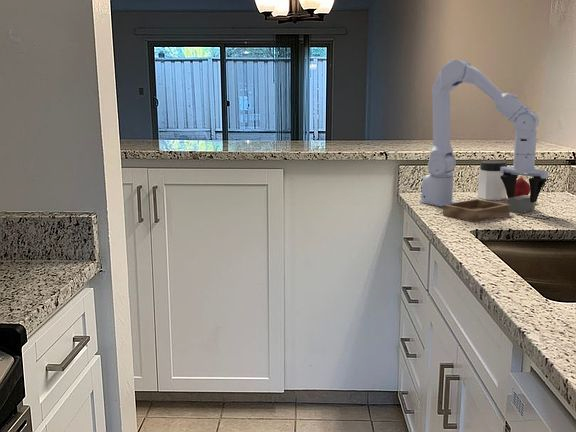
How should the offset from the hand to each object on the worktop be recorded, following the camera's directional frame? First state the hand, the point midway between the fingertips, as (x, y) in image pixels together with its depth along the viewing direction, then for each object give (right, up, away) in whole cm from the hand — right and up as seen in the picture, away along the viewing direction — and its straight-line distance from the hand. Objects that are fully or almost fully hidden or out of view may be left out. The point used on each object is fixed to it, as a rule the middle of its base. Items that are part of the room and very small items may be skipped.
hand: (521, 200), depth 171 cm
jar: (-2, +1, +21) cm, 21 cm away
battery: (0, -3, +1) cm, 3 cm away
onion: (+5, 0, +14) cm, 15 cm away
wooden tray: (-15, -4, -4) cm, 16 cm away
